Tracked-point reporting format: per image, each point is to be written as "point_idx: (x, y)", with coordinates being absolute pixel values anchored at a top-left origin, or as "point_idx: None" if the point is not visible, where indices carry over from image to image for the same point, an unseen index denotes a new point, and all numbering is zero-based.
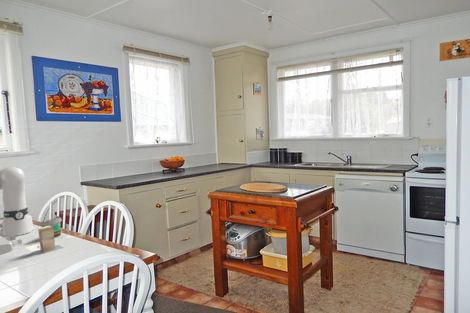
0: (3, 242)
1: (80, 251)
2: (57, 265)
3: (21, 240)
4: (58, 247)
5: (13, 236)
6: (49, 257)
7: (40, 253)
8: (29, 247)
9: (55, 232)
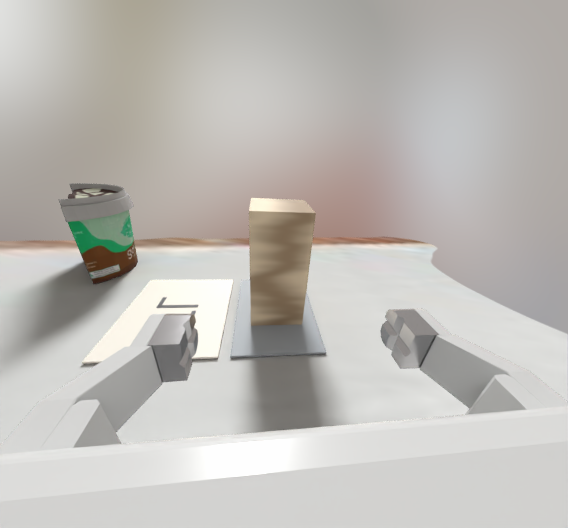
0: None
1: (378, 271)
2: (526, 337)
3: (421, 312)
4: None
5: (185, 320)
6: None
7: (302, 336)
8: (125, 343)
9: (132, 245)
